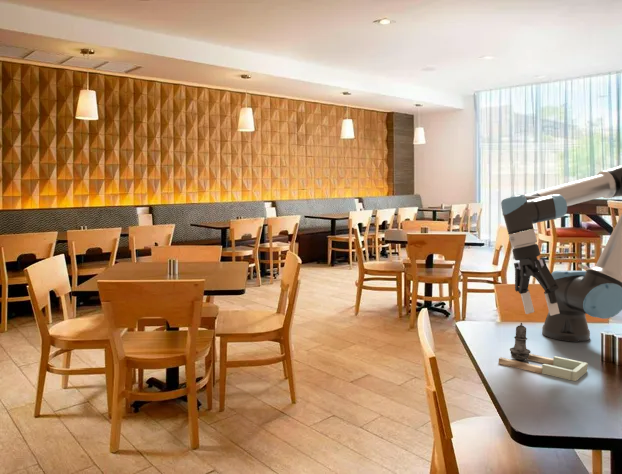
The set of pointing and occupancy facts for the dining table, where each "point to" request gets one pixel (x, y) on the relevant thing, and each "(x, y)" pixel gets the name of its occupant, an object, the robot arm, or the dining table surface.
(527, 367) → the channel
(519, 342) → the dark stone chess piece
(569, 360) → the socket
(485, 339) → the dining table surface
